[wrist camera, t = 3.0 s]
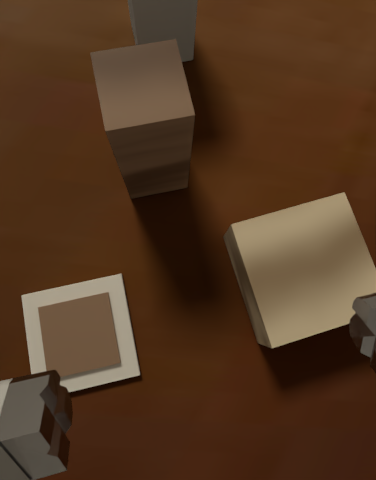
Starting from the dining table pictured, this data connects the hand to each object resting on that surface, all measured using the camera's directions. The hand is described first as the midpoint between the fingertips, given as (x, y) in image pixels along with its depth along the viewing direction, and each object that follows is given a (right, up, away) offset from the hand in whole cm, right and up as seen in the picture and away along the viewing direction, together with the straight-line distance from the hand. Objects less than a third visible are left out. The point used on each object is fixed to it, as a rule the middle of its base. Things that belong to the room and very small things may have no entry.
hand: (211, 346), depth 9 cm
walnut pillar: (-3, +9, +18) cm, 20 cm away
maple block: (+7, 0, +17) cm, 18 cm away
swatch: (-8, -4, +15) cm, 17 cm away
